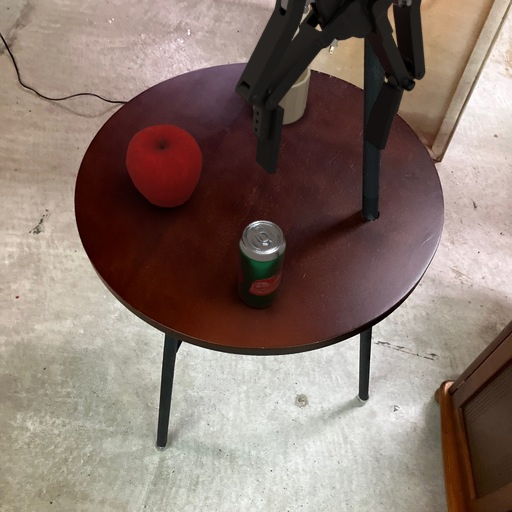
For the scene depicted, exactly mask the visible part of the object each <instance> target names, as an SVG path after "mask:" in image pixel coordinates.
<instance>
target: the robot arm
mask: <svg viewBox="0 0 512 512" xmlns="http://www.w3.org/2000/svg"><path fill="white" fill-rule="evenodd" d="M309 6H310V7H311V9H310V7H309ZM390 7H392V15H393V23H394V28H393V27H392V23H391V21H390V19H389V16H388V13H387V11H388V10H389V8H390ZM421 7H422V0H275V4H274V9H273V11H272V13H271V15H270V17H269V19H268V21H267V23H266V25H265V26H264V29H263V31H262V33H261V35H260V37H259V38H258V40H257V42H256V44H255V46H254V49H253V51H252V53H251V55H250V57H249V59H248V61H247V63H246V65H245V67H244V69H243V71H242V73H241V75H240V77H239V79H238V81H237V82H236V85H235V89H234V90H235V93H236V94H237V95H238V96H240V97H241V98H242V100H244V101H245V102H246V103H248V104H249V105H250V106H252V107H253V106H254V110H253V116H252V125H251V131H252V134H253V135H254V136H255V137H256V138H257V143H256V152H255V162H256V163H257V164H258V165H259V166H260V167H261V168H262V169H263V170H264V171H265V172H266V173H267V174H268V175H274V174H276V173H277V170H278V162H279V155H280V148H281V139H282V132H283V125H284V124H283V118H284V110H285V109H284V108H282V107H281V106H280V105H279V102H280V101H281V100H282V99H283V97H284V96H285V95H286V94H287V92H288V91H289V90H290V89H291V87H292V86H293V85H294V84H295V82H296V81H297V80H298V79H299V77H300V76H301V75H302V74H303V72H304V71H305V70H306V68H307V67H308V66H310V65H311V64H312V62H313V61H314V60H315V59H316V57H317V56H318V55H319V54H320V52H321V51H322V50H324V49H327V48H329V47H330V46H331V45H332V44H333V42H334V41H335V40H336V41H337V42H339V41H340V42H341V41H346V40H349V39H351V38H356V39H360V40H361V39H367V41H368V43H369V45H370V47H371V49H372V52H373V54H374V53H375V54H374V56H375V55H376V56H377V57H378V59H379V62H380V63H381V65H382V67H383V69H384V71H385V73H383V76H384V78H385V79H386V81H385V80H384V82H383V84H382V87H381V90H380V92H379V94H378V96H377V99H376V101H375V102H374V104H373V107H372V106H371V107H372V108H371V107H370V111H369V115H368V120H367V124H366V128H365V132H364V137H363V140H364V141H365V142H367V143H368V144H370V145H371V146H372V147H374V148H375V149H377V150H378V151H383V150H386V147H387V143H388V139H389V136H390V133H391V128H392V126H393V125H392V124H393V121H394V118H395V117H396V116H397V114H398V113H399V111H400V107H401V102H402V100H403V99H402V98H403V96H404V92H405V91H406V92H407V93H409V92H412V91H413V90H414V89H415V87H416V83H417V82H416V80H417V81H421V80H423V79H424V78H425V75H426V60H425V59H426V58H425V49H424V37H423V36H424V35H423V24H422V14H421V13H422V12H421ZM304 15H306V16H305V17H304ZM303 17H304V18H303ZM318 26H319V28H320V30H319V29H317V27H318ZM394 31H395V38H394V36H393V33H394ZM395 39H396V40H395ZM376 56H375V57H376Z"/></svg>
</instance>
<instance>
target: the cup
mask: <svg viewBox="0 0 512 512" xmlns="http://www.w3.org/2000/svg"><path fill="white" fill-rule="evenodd" d="M310 78H311V66H310V65H309V66H308V67H307V68H306V70H305V71H304V72H303V74H302V75H301V76H300V77H299V79H298V80H297V81H296V82H295V84H294V85H293V86H292V87H291V89H290V90H289V91H288V92H287V94H286V95H285V96H284V97H283V99H282V100H281V101H280V102H279V105H280V106H281V107H282V108H284V109H285V110H284V118H283V125H289V124H292V123H295V122H297V121H298V120H300V119H301V118H302V116H303V115H304V114H305V110H306V107H307V100H308V94H309V86H310ZM252 110H253V111H254V106H252Z"/></svg>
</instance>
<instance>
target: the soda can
mask: <svg viewBox="0 0 512 512" xmlns="http://www.w3.org/2000/svg"><path fill="white" fill-rule="evenodd" d="M286 248H287V240H286V236H285V234H284V233H283V231H282V229H281V228H280V227H279V226H278V225H277V224H276V223H274V222H272V221H269V220H256V221H253V222H251V223H250V224H248V225H247V226H246V227H244V229H243V231H242V232H241V233H240V235H239V238H238V270H237V271H238V274H237V284H238V285H237V292H238V293H237V294H238V297H239V298H240V300H241V301H242V302H244V304H246V305H247V306H249V307H251V308H256V309H262V308H267V307H269V306H271V305H273V304H274V303H275V302H276V301H277V299H278V298H279V295H280V288H281V283H282V275H283V269H284V262H285V257H286Z"/></svg>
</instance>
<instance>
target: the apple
mask: <svg viewBox="0 0 512 512" xmlns="http://www.w3.org/2000/svg"><path fill="white" fill-rule="evenodd" d="M198 144H199V143H198V142H197V141H196V139H195V137H194V136H193V135H192V134H190V133H189V132H188V131H187V130H185V129H183V128H181V127H179V126H176V125H173V124H156V125H151V126H147V127H145V128H143V129H141V130H140V131H138V132H136V133H135V134H134V135H133V136H132V138H131V140H130V141H129V143H128V146H127V151H126V158H125V166H126V169H127V172H128V175H129V177H130V179H131V181H132V183H133V185H134V187H135V188H136V189H137V191H139V193H141V195H142V196H143V197H144V198H145V199H146V200H147V201H148V202H149V203H150V204H151V205H155V206H157V207H159V208H174V207H178V206H182V205H183V204H184V203H186V202H187V201H188V200H189V199H191V196H192V194H193V193H194V192H195V189H196V187H197V185H198V183H199V181H200V177H201V174H202V169H203V153H202V151H201V148H200V146H199V145H198Z"/></svg>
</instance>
